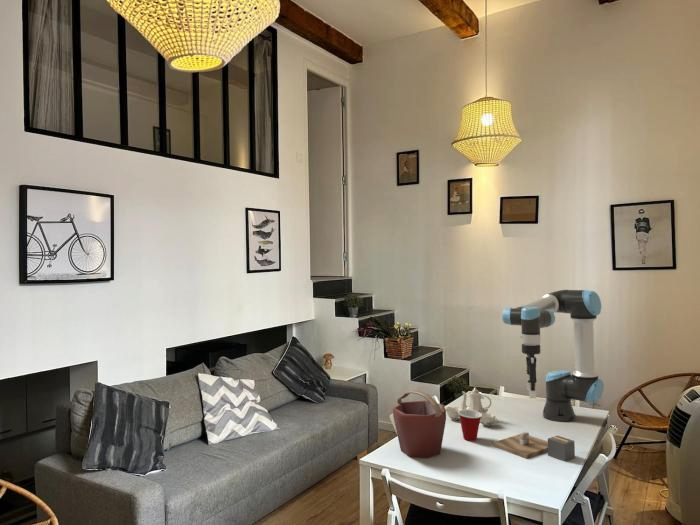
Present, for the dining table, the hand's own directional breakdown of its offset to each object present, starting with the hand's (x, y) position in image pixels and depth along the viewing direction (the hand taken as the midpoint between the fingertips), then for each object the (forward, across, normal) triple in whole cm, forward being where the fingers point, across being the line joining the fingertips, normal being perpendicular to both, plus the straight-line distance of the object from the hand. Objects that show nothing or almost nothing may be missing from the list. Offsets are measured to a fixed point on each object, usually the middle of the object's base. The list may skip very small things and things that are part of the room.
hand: (531, 394), depth 226 cm
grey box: (+24, +5, +11) cm, 27 cm away
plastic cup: (+24, -10, -26) cm, 37 cm away
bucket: (+25, +9, -46) cm, 53 cm away
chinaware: (+24, -37, -26) cm, 51 cm away
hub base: (+24, -4, -3) cm, 24 cm away
